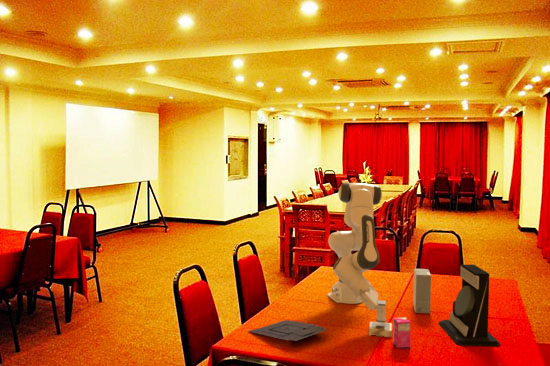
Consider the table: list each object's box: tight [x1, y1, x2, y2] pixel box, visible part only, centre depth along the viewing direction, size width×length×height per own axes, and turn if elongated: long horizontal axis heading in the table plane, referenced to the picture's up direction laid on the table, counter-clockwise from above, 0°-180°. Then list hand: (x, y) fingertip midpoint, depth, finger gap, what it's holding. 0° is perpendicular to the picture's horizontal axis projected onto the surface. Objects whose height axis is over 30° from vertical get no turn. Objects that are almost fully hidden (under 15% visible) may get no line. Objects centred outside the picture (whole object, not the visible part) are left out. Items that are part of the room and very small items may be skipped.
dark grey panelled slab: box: [248, 319, 329, 342], centre depth 226 cm, size 24×30×4 cm
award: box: [438, 263, 501, 347], centre depth 227 cm, size 30×19×30 cm, turn 178°
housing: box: [375, 299, 387, 323], centre depth 228 cm, size 4×5×8 cm
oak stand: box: [368, 321, 393, 338], centre depth 229 cm, size 10×10×3 cm
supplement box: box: [392, 316, 411, 349], centre depth 213 cm, size 6×6×12 cm
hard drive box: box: [412, 268, 432, 314], centre depth 263 cm, size 16×8×20 cm, turn 168°
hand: (382, 310), depth 228 cm, fingers closed on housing, 5 cm apart
